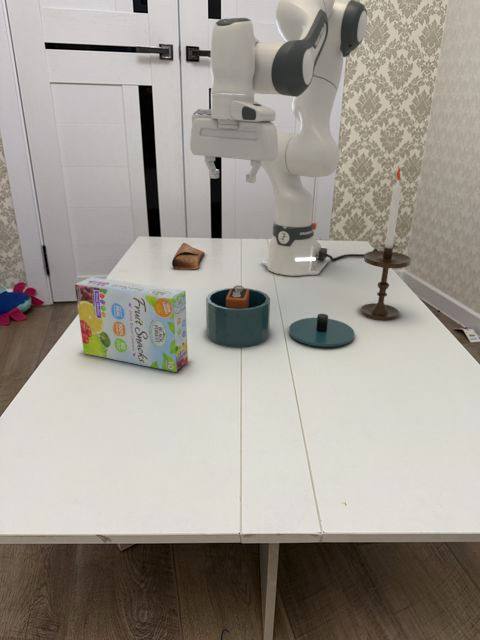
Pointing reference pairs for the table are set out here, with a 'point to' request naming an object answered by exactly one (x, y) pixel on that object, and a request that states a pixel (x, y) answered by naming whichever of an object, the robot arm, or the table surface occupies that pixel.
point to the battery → (237, 298)
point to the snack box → (133, 322)
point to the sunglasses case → (187, 257)
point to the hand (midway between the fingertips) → (232, 180)
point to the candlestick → (386, 262)
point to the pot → (237, 319)
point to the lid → (321, 331)
